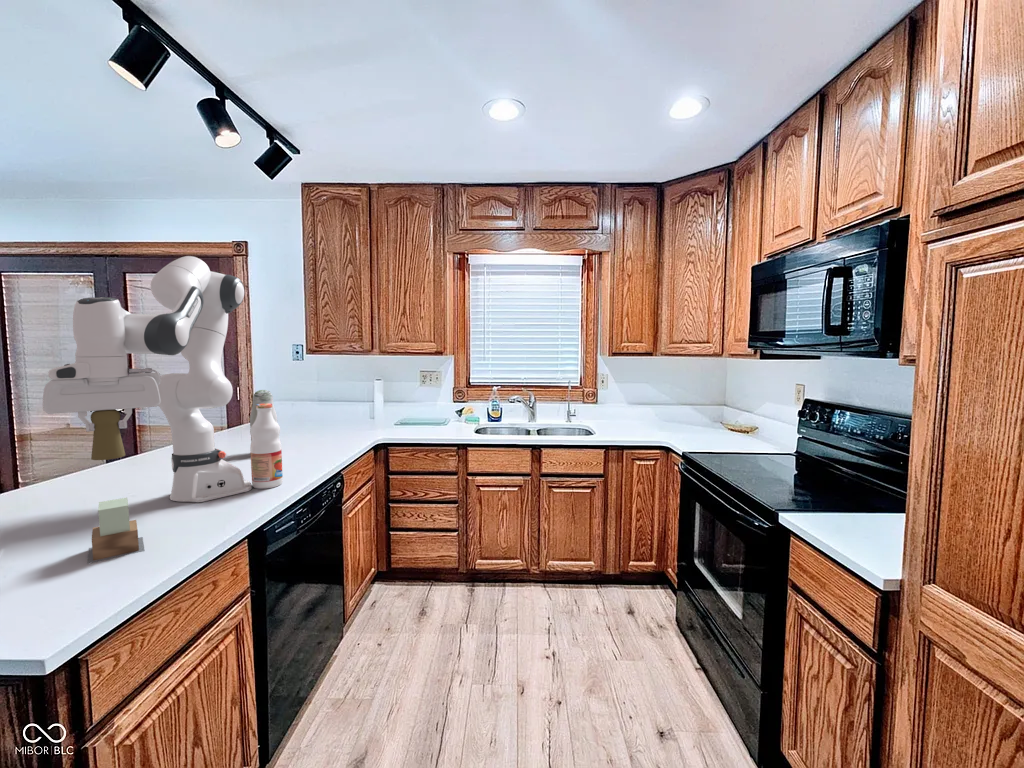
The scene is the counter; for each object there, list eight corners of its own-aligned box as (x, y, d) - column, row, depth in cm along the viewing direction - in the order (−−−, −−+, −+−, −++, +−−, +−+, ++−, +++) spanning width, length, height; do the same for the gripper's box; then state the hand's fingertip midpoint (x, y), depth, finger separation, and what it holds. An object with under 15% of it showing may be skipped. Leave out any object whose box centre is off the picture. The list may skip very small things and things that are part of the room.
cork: (132, 453, 112) (129, 407, 111) (110, 460, 106) (106, 411, 105) (106, 453, 112) (103, 407, 111) (83, 460, 106) (79, 411, 105)
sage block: (129, 521, 115) (127, 497, 114) (130, 530, 109) (128, 505, 109) (100, 526, 111) (98, 502, 111) (100, 536, 106) (98, 510, 105)
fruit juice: (250, 483, 164) (247, 403, 161) (280, 479, 169) (277, 401, 166) (253, 491, 156) (249, 407, 153) (284, 486, 161) (281, 404, 158)
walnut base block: (137, 539, 116) (136, 519, 116) (139, 550, 110) (137, 529, 110) (94, 548, 111) (92, 527, 111) (93, 560, 105) (91, 538, 105)
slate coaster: (142, 539, 118) (142, 536, 118) (144, 554, 110) (144, 550, 110) (89, 551, 111) (88, 548, 111) (87, 567, 104) (87, 563, 104)
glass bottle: (246, 455, 203) (243, 390, 200) (268, 450, 212) (266, 388, 209) (261, 458, 198) (258, 391, 196) (283, 452, 208) (280, 389, 205)
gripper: (158, 367, 116) (162, 422, 117) (41, 370, 103) (47, 432, 104) (160, 368, 111) (164, 426, 112) (38, 371, 98) (44, 437, 99)
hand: (107, 429), depth 108 cm, fingers closed on cork, 4 cm apart
